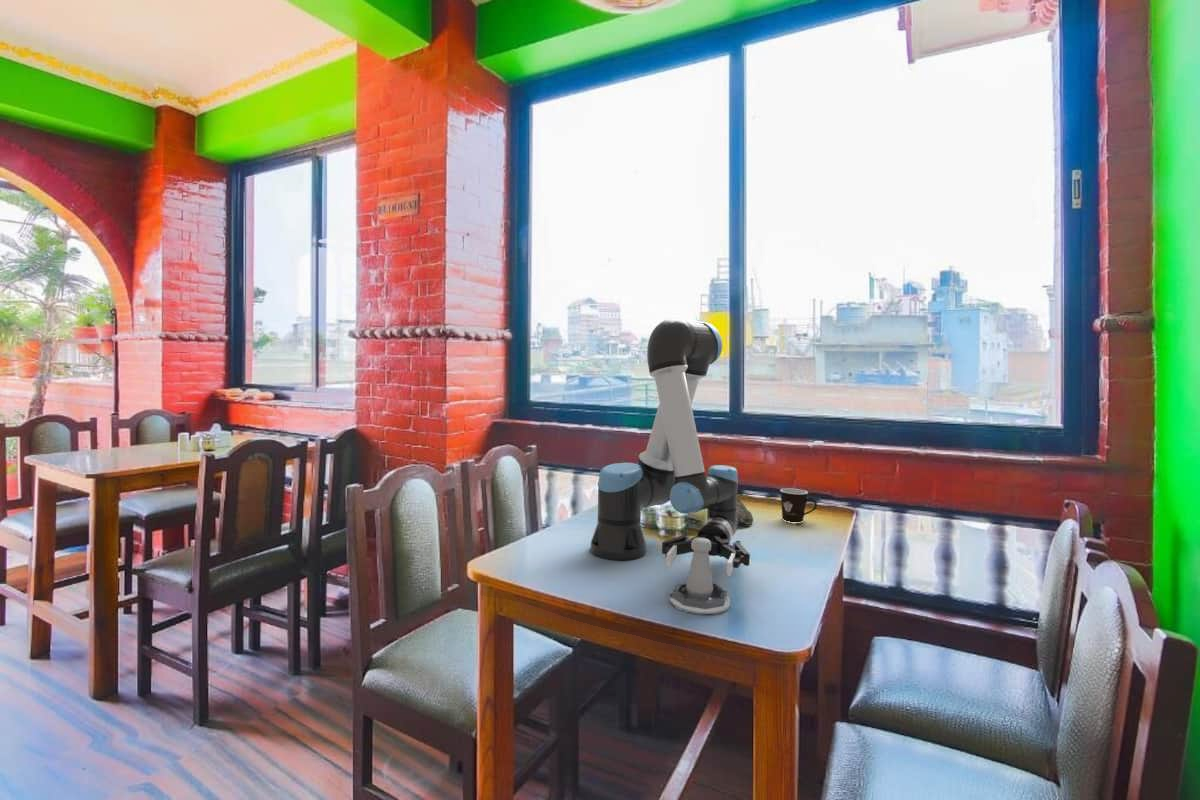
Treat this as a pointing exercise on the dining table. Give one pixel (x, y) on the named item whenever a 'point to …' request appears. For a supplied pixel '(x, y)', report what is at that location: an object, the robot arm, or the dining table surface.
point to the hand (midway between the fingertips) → (697, 564)
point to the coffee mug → (794, 504)
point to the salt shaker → (700, 570)
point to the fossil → (743, 514)
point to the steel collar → (711, 606)
